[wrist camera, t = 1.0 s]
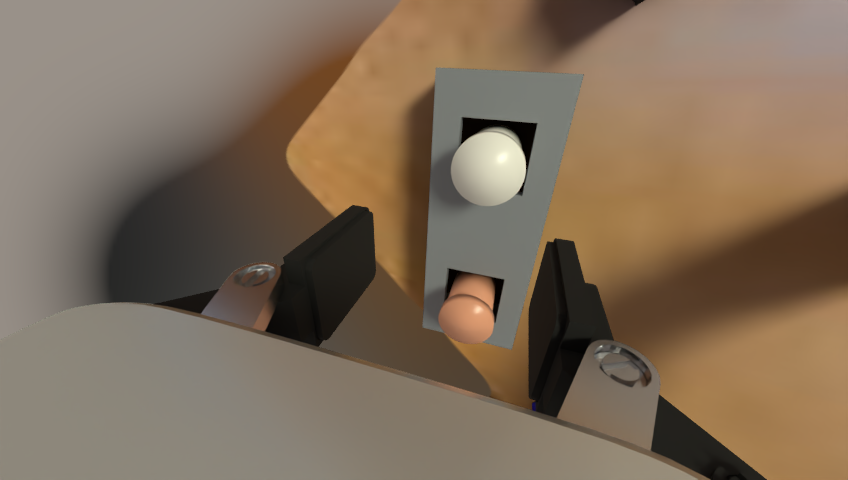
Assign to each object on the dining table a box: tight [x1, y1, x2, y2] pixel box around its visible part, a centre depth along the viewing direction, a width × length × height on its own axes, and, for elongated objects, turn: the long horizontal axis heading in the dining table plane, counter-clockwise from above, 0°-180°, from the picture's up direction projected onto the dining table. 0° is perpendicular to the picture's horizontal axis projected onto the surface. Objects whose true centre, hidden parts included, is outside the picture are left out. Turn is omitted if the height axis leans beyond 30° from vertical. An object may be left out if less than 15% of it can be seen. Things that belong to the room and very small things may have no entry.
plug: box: [451, 125, 526, 206], centre depth 23 cm, size 5×5×6 cm
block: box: [423, 68, 584, 350], centre depth 30 cm, size 10×26×6 cm, turn 177°
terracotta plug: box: [438, 271, 496, 344], centre depth 30 cm, size 5×5×6 cm
